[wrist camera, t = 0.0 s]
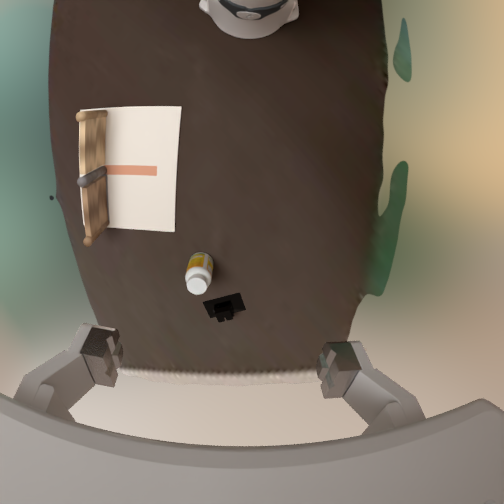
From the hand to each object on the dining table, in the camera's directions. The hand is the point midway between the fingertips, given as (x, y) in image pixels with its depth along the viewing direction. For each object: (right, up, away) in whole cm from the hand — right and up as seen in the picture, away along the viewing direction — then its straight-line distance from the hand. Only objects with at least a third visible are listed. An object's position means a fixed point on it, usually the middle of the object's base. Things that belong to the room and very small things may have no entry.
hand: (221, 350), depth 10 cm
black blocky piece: (-6, -9, +60) cm, 61 cm away
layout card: (-24, +20, +42) cm, 53 cm away
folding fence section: (-29, +27, +37) cm, 54 cm away
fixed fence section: (-30, +15, +44) cm, 55 cm away
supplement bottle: (-10, +2, +53) cm, 54 cm away
